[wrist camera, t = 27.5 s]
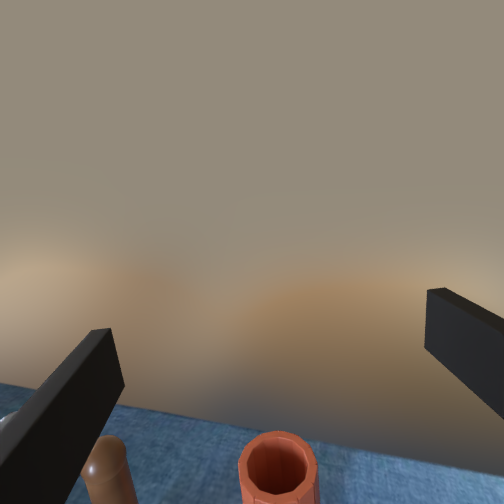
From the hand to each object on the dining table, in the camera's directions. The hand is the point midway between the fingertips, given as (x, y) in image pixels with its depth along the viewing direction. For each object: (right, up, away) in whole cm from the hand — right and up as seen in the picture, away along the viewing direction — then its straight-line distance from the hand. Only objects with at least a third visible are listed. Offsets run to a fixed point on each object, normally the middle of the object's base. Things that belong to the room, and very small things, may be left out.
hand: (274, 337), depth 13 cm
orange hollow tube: (+2, -25, +16) cm, 30 cm away
